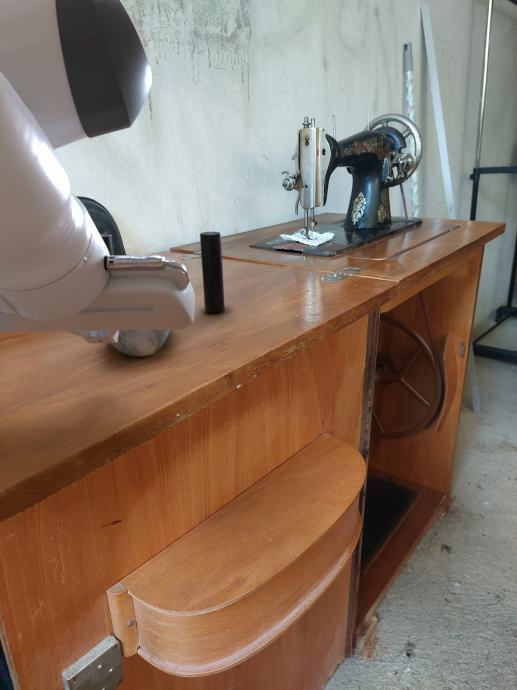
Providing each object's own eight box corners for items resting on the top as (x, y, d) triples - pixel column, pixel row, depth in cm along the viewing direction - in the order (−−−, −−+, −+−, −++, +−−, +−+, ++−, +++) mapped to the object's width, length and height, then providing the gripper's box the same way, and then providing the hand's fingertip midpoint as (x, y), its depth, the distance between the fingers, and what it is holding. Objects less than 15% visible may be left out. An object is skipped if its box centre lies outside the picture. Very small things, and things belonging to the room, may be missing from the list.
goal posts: (98, 317, 78) (86, 237, 73) (104, 311, 80) (93, 234, 76) (223, 315, 77) (219, 234, 73) (225, 309, 80) (221, 231, 75)
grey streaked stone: (128, 332, 74) (84, 279, 68) (185, 299, 73) (146, 243, 67) (132, 392, 63) (81, 336, 57) (200, 354, 62) (155, 293, 56)
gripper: (185, 224, 41) (208, 307, 53) (-69, 229, 41) (13, 310, 54) (179, 294, 38) (205, 364, 51) (-91, 298, 39) (0, 366, 51)
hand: (104, 336), depth 52 cm, fingers closed
